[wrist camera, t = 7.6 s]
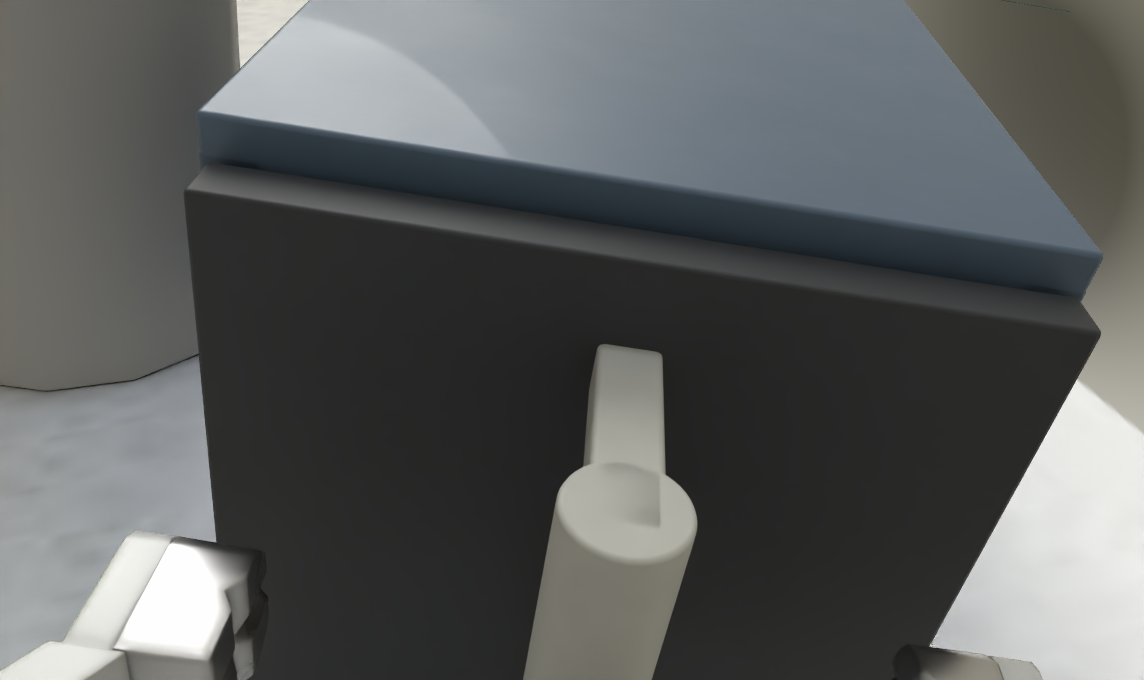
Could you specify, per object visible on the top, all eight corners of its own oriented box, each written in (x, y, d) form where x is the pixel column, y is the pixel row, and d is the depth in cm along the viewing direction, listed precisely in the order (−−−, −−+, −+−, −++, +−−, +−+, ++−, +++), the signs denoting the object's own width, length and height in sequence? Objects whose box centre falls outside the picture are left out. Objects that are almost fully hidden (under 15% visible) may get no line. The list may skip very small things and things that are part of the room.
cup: (235, 389, 23) (204, -40, 18) (-159, 392, 22) (-334, -90, 16) (259, 218, 30) (242, -134, 24) (-40, 208, 28) (-132, -177, 22)
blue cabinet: (845, 752, 18) (1107, 255, 12) (240, 667, 17) (193, 110, 11) (766, 325, 29) (877, -35, 23) (401, 269, 29) (420, -112, 23)
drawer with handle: (904, 1003, 14) (1259, 555, 8) (140, 901, 13) (20, 370, 8) (772, 326, 28) (874, 1, 22) (399, 268, 27) (415, -75, 22)
